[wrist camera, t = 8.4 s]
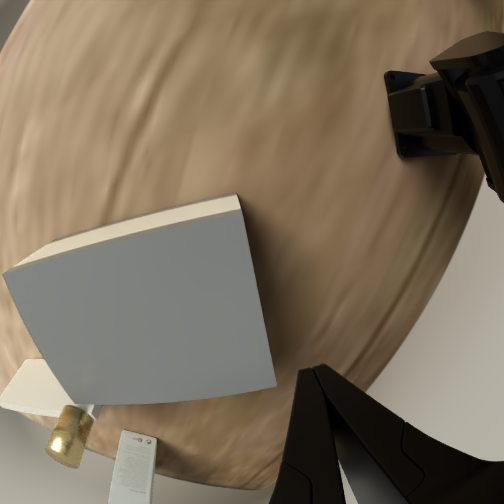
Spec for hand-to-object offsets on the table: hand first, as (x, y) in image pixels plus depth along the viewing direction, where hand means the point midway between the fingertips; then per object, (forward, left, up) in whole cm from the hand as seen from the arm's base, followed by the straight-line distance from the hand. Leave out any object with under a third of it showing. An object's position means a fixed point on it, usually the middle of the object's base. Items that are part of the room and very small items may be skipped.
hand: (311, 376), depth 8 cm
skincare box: (+18, +21, -12) cm, 30 cm away
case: (+8, +1, -12) cm, 14 cm away
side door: (+19, +7, -12) cm, 24 cm away
